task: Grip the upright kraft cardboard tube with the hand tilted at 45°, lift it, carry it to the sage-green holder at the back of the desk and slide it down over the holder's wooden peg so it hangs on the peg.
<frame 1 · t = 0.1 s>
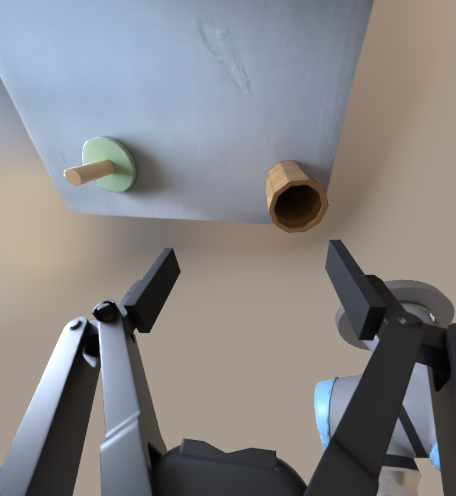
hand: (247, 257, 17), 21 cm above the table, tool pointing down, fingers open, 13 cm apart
holder: (112, 165, 35), on the table
tube: (285, 181, 33), on the table
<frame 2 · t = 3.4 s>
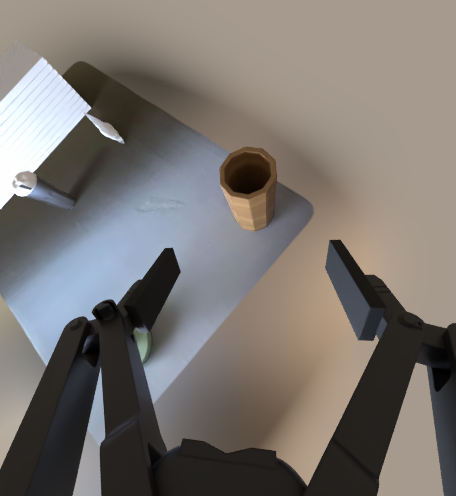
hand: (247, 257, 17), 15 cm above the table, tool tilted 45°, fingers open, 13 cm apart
holder: (127, 342, 33), on the table
milkshake: (71, 204, 42), on the table
white tapered spindle: (105, 130, 45), on the table
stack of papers: (36, 148, 48), on the table
tube: (253, 212, 34), on the table
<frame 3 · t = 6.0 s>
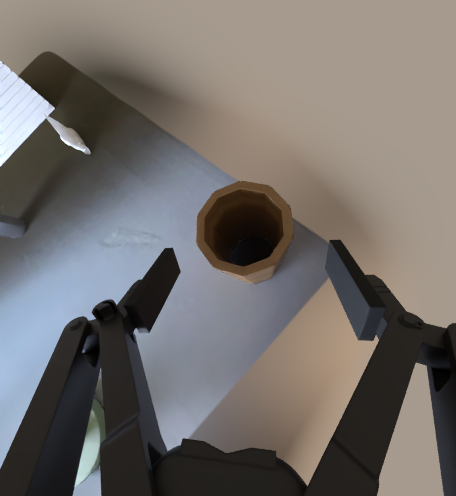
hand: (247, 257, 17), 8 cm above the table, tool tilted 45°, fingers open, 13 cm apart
holder: (75, 433, 24), on the table
milkshake: (21, 230, 33), on the table
white tapered spindle: (70, 136, 36), on the table
tube: (253, 256, 25), on the table
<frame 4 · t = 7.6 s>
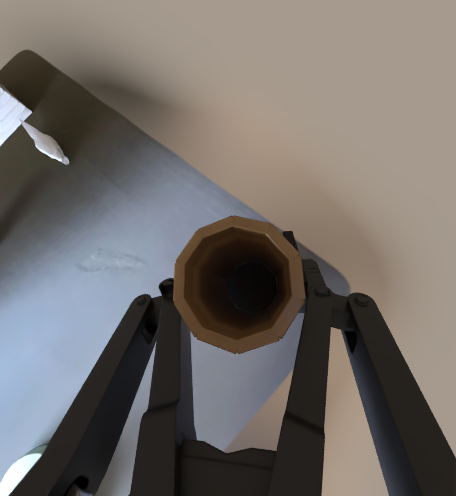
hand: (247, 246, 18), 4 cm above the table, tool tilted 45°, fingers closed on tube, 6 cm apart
white tapered spindle: (47, 143, 32), on the table
tube: (251, 286, 21), on the table, touching gripper
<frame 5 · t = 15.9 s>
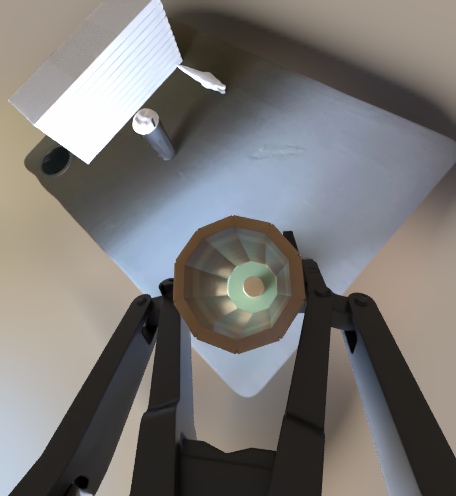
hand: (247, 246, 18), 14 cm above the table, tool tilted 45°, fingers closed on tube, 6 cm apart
holder: (256, 288, 31), on the table
milkshake: (170, 155, 41), on the table
white tapered spindle: (201, 82, 43), on the table
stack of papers: (123, 103, 46), on the table
tube: (251, 286, 21), point 11 cm above the table, touching gripper
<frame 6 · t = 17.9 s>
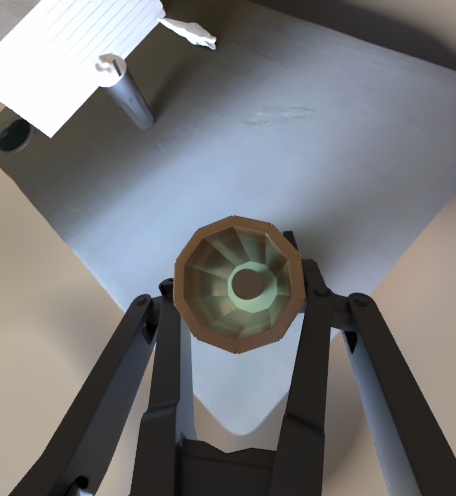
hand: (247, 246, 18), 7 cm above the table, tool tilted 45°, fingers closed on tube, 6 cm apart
holder: (253, 287, 24), on the table
milkshake: (148, 124, 33), on the table
white tapered spindle: (187, 37, 36), on the table
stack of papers: (95, 66, 39), on the table
tube: (251, 286, 21), point 3 cm above the table, touching gripper
when the fingers open (5 cm above the table, at t = 18.9 s): tube stays where it is, resting on holder.
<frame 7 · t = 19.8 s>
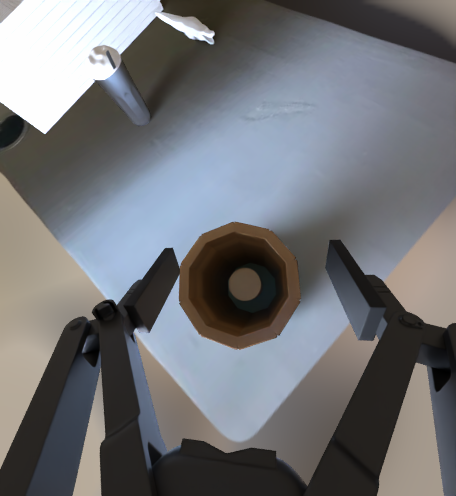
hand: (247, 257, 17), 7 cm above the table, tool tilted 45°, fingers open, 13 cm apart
holder: (252, 287, 23), on the table
milkshake: (144, 120, 32), on the table
white tapered spindle: (185, 32, 35), on the table
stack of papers: (90, 61, 38), on the table
tube: (251, 287, 22), point 1 cm above the table, touching holder
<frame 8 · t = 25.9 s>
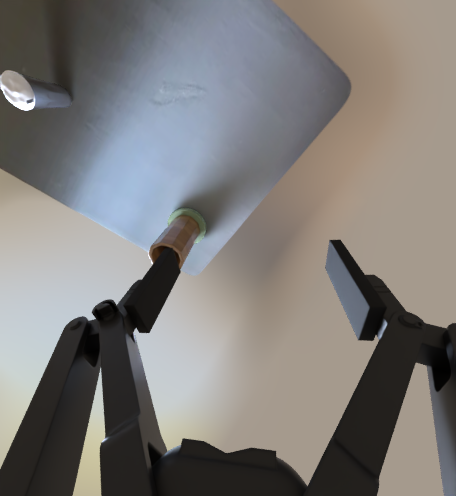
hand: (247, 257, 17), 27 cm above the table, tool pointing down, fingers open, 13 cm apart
holder: (187, 225, 47), on the table
milkshake: (66, 98, 36), on the table
tube: (186, 228, 46), point 1 cm above the table, touching holder
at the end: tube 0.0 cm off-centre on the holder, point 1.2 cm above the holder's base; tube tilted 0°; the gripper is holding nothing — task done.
